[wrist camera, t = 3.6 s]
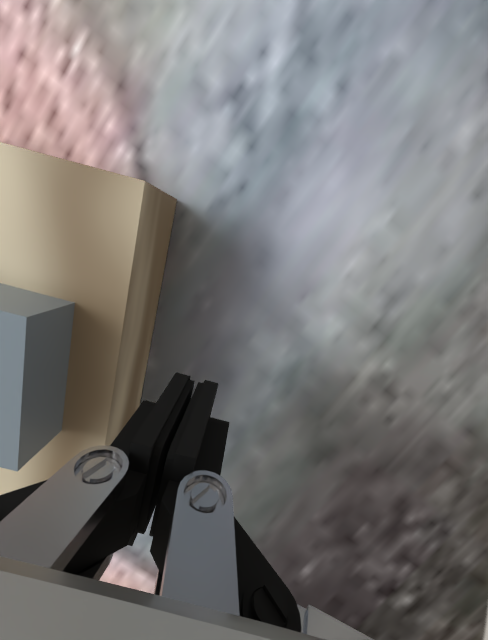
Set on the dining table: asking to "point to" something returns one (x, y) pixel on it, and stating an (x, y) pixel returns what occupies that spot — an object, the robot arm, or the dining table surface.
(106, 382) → the board
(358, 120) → the dining table surface
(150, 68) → the dining table surface
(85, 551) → the robot arm
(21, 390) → the tile
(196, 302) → the dining table surface
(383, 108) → the dining table surface
